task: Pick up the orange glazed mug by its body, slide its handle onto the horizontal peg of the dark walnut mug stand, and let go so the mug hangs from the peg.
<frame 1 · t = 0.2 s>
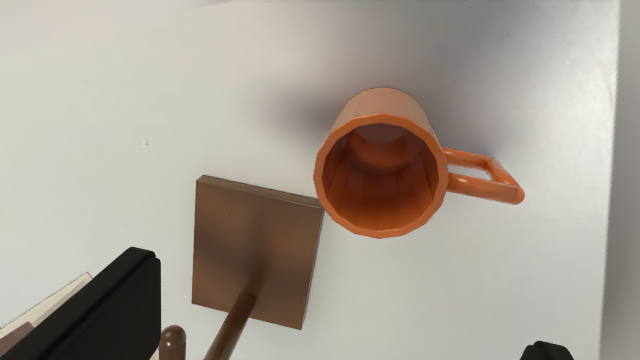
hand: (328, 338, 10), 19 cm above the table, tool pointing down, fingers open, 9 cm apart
mug stand: (256, 252, 33), on the table
mug: (381, 134, 27), on the table
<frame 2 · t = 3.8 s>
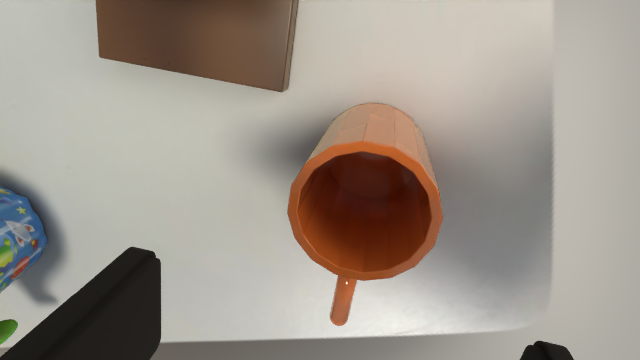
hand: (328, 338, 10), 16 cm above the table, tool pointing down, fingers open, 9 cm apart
mug: (372, 153, 25), on the table
snack cup: (12, 220, 32), on the table
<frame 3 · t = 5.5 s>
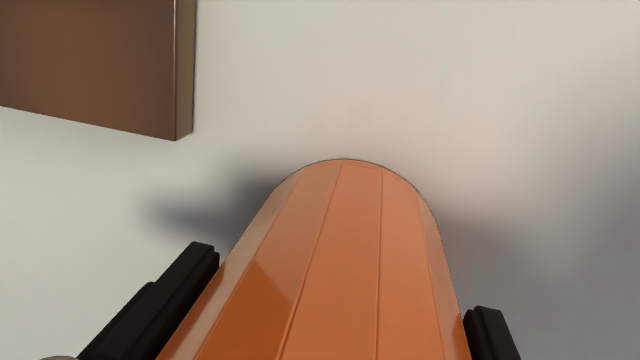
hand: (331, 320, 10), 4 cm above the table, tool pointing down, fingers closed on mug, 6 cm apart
mug: (345, 243, 14), on the table, touching gripper
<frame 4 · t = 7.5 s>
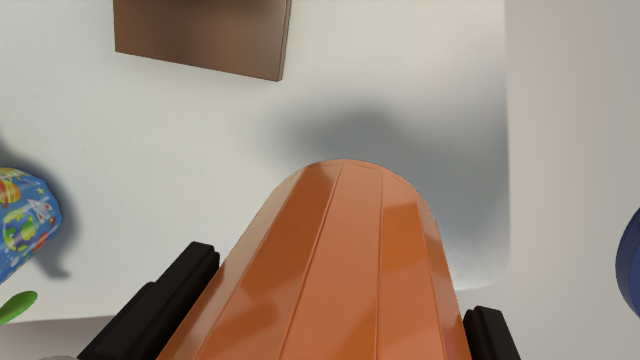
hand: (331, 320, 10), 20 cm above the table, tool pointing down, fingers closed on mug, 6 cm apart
mug: (346, 242, 14), point 16 cm above the table, touching gripper
snack cup: (28, 201, 35), on the table
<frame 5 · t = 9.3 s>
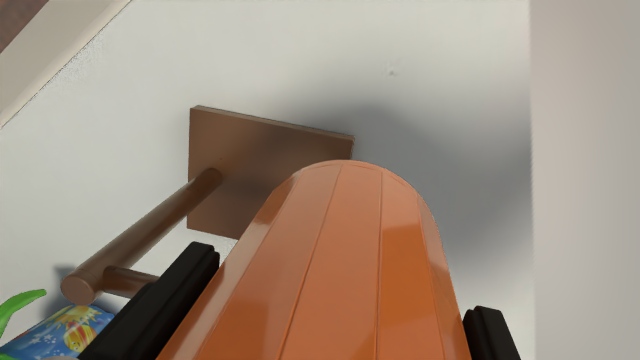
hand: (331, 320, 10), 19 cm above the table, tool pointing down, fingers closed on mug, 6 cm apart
mug stand: (267, 182, 30), on the table
mug: (345, 243, 14), point 15 cm above the table, touching gripper
snack cup: (96, 328, 40), on the table
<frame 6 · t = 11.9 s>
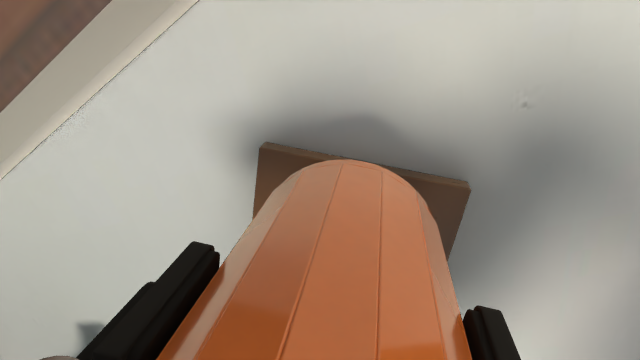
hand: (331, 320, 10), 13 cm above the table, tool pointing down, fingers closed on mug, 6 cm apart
mug stand: (348, 234, 25), on the table
mug: (346, 243, 14), point 9 cm above the table, touching gripper
when the fingers open (12 cm above the table, at t = 13.4 s): mug drops 1 cm and tips over, resting on mug stand.
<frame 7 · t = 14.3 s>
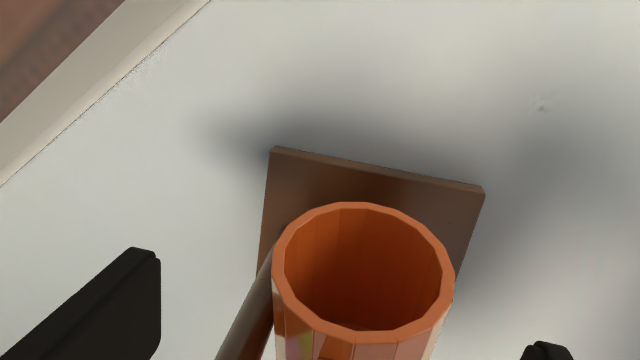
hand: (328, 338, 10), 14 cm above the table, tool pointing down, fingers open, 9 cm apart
mug stand: (359, 239, 24), on the table
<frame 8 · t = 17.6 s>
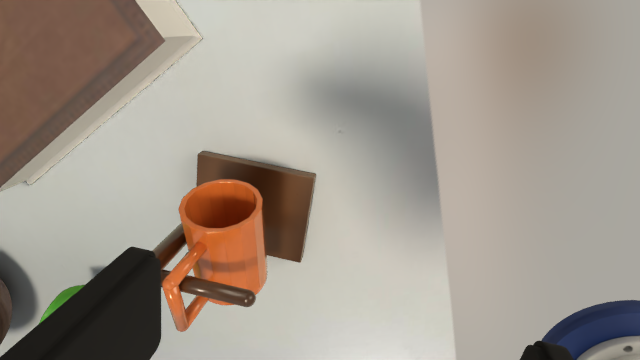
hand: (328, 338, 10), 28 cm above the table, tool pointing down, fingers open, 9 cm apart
mug stand: (254, 205, 41), on the table
mug: (232, 275, 37), point 7 cm above the table, tilted 75°, touching mug stand
book: (22, 16, 38), on the table
snack cup: (123, 315, 51), on the table
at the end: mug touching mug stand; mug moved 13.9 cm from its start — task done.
